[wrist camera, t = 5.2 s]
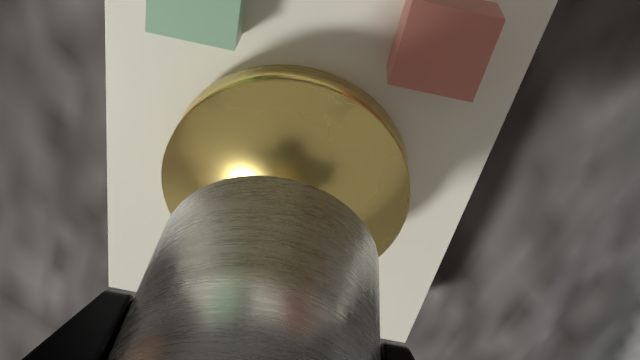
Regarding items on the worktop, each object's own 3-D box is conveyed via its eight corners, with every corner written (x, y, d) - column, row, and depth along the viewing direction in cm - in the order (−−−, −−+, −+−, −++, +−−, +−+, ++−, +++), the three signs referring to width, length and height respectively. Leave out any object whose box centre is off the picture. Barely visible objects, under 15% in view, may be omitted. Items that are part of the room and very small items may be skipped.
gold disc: (373, 277, 14) (374, 302, 14) (166, 236, 14) (156, 260, 13) (440, 95, 11) (444, 115, 11) (179, 38, 11) (167, 56, 10)
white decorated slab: (402, 298, 17) (406, 367, 15) (128, 245, 17) (97, 309, 15) (546, -49, 12) (582, -8, 10) (134, -145, 11) (83, -124, 9)
